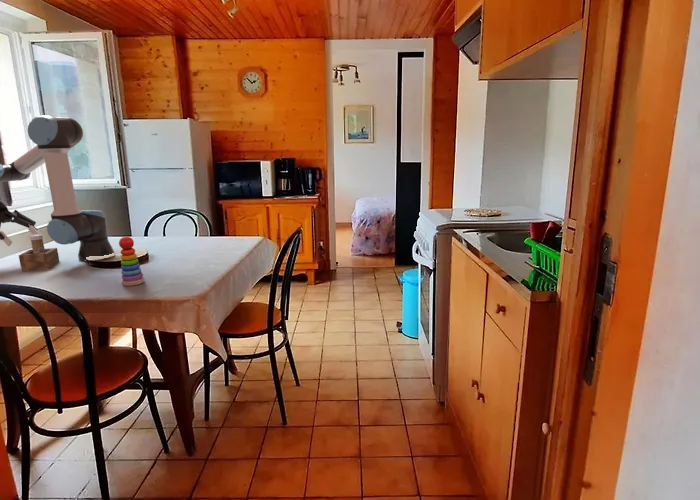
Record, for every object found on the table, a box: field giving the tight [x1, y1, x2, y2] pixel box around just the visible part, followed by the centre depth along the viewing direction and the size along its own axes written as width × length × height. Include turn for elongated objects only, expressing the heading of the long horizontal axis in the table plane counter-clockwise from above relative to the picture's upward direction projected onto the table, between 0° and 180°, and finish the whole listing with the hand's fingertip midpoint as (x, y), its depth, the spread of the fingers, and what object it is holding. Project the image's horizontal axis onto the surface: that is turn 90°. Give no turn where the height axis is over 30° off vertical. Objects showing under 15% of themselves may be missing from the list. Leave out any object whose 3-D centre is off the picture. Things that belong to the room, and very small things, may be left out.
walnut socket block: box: [18, 247, 61, 272], centre depth 196 cm, size 11×11×7 cm
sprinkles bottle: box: [29, 233, 46, 254], centre depth 196 cm, size 5×5×13 cm
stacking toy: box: [118, 236, 145, 287], centre depth 169 cm, size 8×8×19 cm
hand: (25, 240), depth 196 cm, fingers open, 13 cm apart
